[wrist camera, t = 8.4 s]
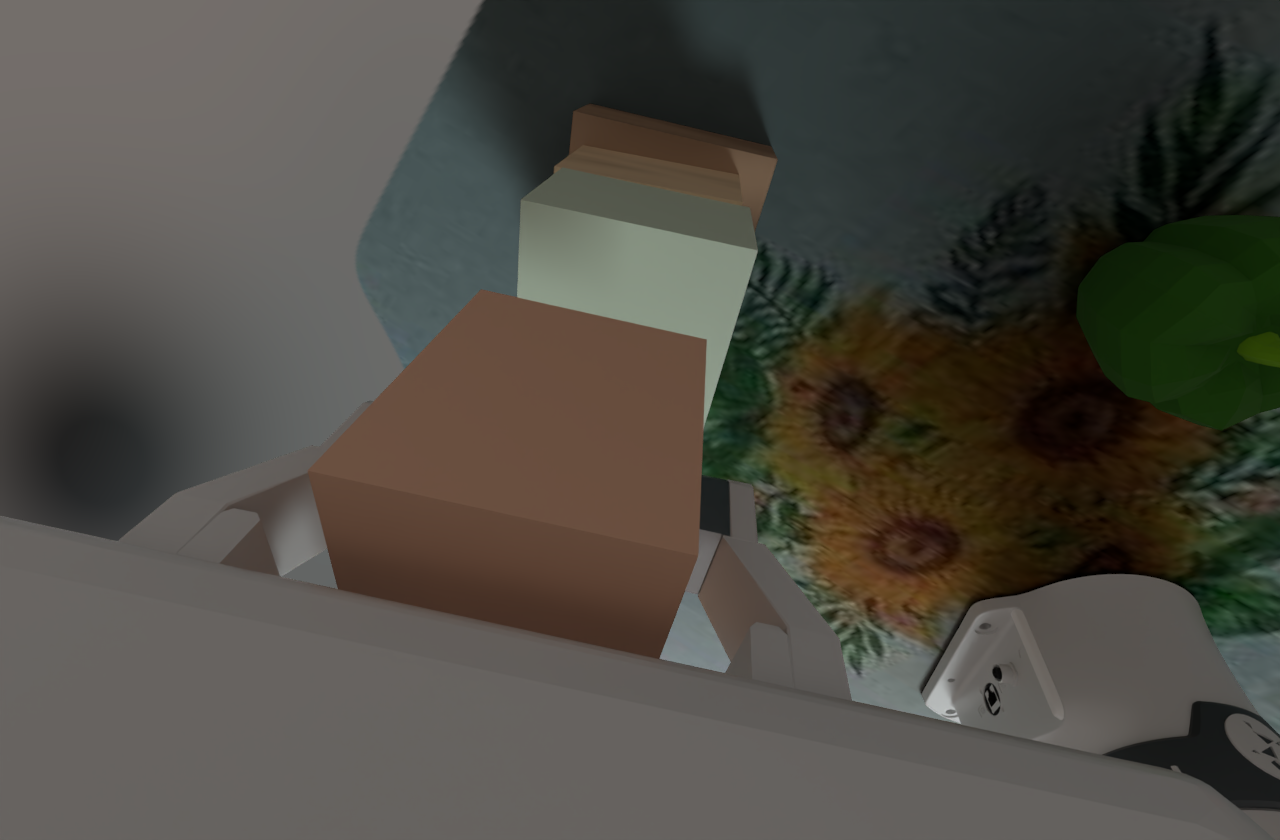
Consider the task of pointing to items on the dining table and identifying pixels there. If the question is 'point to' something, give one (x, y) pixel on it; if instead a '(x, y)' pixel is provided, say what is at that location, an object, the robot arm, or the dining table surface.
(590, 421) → the terracotta block
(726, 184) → the oak cube
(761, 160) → the walnut slab
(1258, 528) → the dining table surface
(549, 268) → the sage cube
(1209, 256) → the bell pepper
